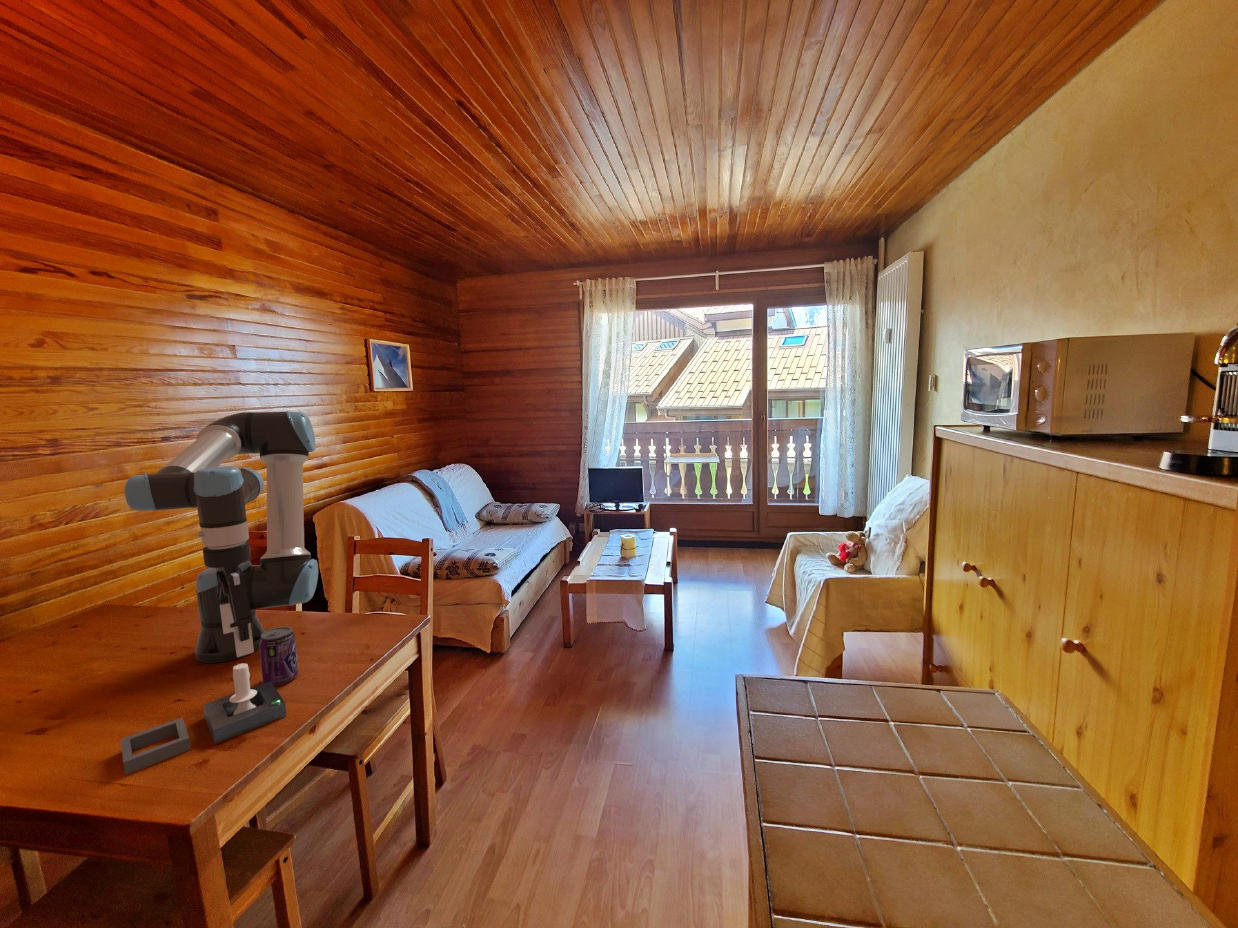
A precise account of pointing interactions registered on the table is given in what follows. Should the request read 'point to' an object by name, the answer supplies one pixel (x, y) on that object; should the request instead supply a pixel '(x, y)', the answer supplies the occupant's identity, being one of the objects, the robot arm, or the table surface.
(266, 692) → the port block
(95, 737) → the table surface
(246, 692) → the candle
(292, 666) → the beverage can
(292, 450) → the robot arm
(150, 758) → the grey square frame
